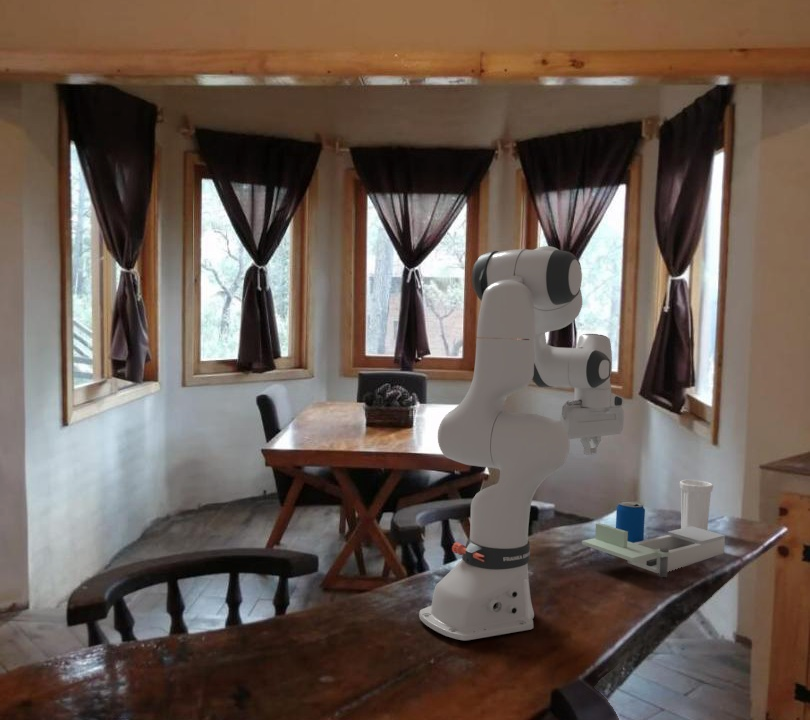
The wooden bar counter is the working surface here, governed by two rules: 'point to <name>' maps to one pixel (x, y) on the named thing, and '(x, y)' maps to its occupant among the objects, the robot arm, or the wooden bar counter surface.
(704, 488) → the cup
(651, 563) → the cord
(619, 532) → the cover
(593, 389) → the robot arm
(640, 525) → the beverage can
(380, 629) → the wooden bar counter surface
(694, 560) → the white open box
